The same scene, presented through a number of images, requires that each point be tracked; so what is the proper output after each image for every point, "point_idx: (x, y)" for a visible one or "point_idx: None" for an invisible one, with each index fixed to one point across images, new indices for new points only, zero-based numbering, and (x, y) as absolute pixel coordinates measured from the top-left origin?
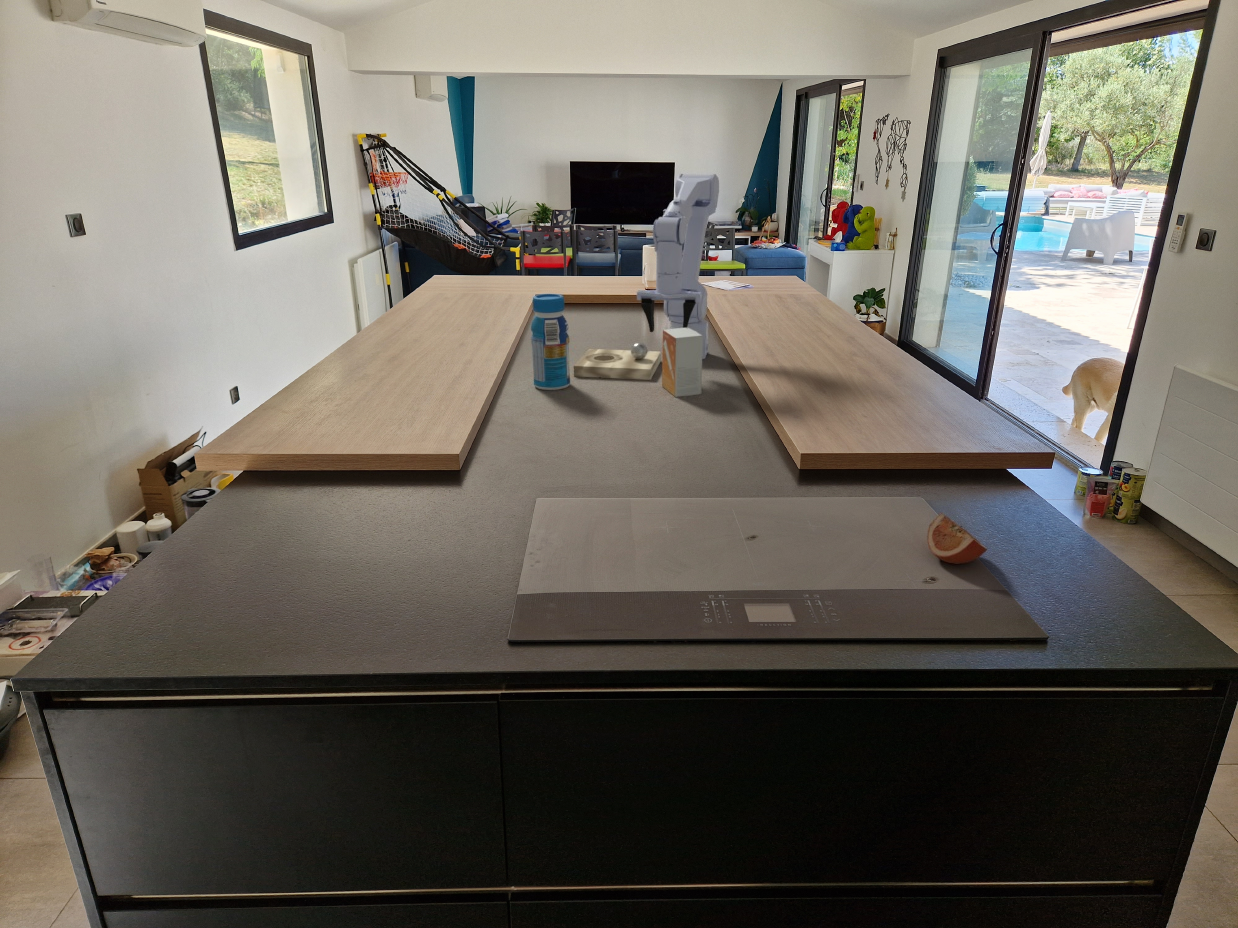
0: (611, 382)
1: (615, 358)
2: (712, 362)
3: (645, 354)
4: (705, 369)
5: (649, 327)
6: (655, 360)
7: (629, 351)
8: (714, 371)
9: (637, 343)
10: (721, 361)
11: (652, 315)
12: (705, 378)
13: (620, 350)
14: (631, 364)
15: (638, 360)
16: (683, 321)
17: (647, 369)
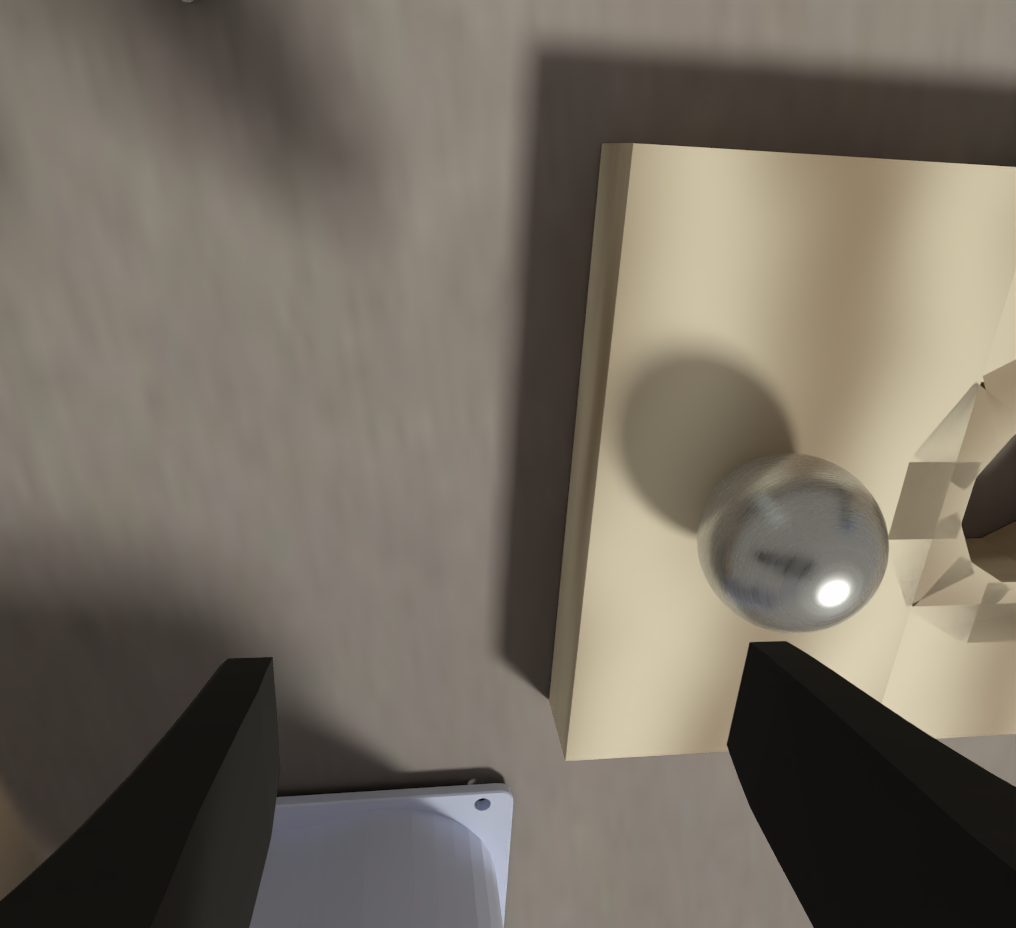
0: (971, 11)
1: (959, 500)
2: (126, 757)
3: (716, 494)
4: (134, 565)
5: (837, 674)
6: (596, 491)
7: None
8: (32, 519)
9: (855, 573)
10: (57, 794)
11: (897, 905)
12: (53, 273)
13: None
14: (829, 315)
15: None
16: (205, 794)
17: (664, 148)
